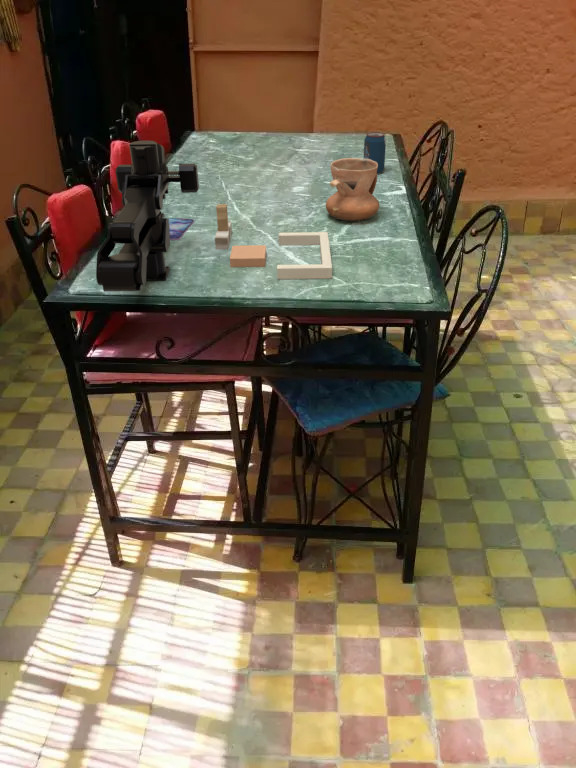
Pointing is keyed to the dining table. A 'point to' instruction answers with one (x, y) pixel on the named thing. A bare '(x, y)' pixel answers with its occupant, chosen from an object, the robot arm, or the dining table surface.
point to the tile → (248, 256)
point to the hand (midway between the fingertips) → (163, 169)
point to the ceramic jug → (353, 189)
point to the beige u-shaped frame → (307, 270)
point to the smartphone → (178, 227)
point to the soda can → (375, 149)
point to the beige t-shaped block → (223, 227)
